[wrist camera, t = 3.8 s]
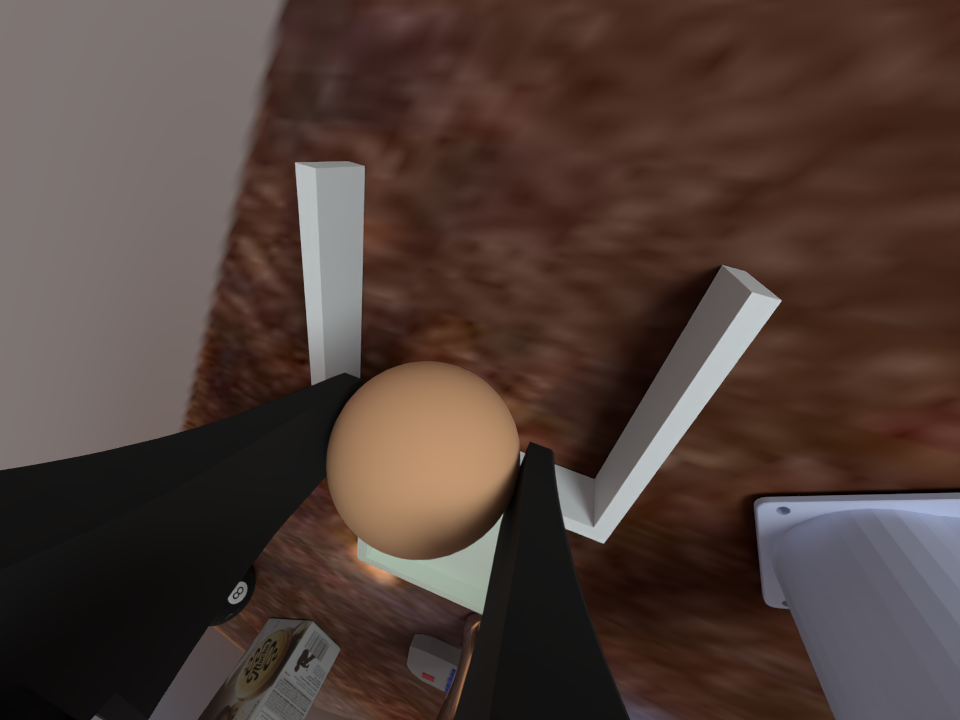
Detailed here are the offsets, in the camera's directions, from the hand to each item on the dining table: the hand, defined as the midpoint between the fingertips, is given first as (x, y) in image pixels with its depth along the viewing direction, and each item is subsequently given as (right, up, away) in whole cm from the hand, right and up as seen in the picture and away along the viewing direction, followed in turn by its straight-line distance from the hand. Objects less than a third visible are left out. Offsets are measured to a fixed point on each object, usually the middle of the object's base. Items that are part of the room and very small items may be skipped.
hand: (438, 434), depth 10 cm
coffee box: (-21, -33, +36) cm, 53 cm away
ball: (0, +1, +1) cm, 2 cm away
